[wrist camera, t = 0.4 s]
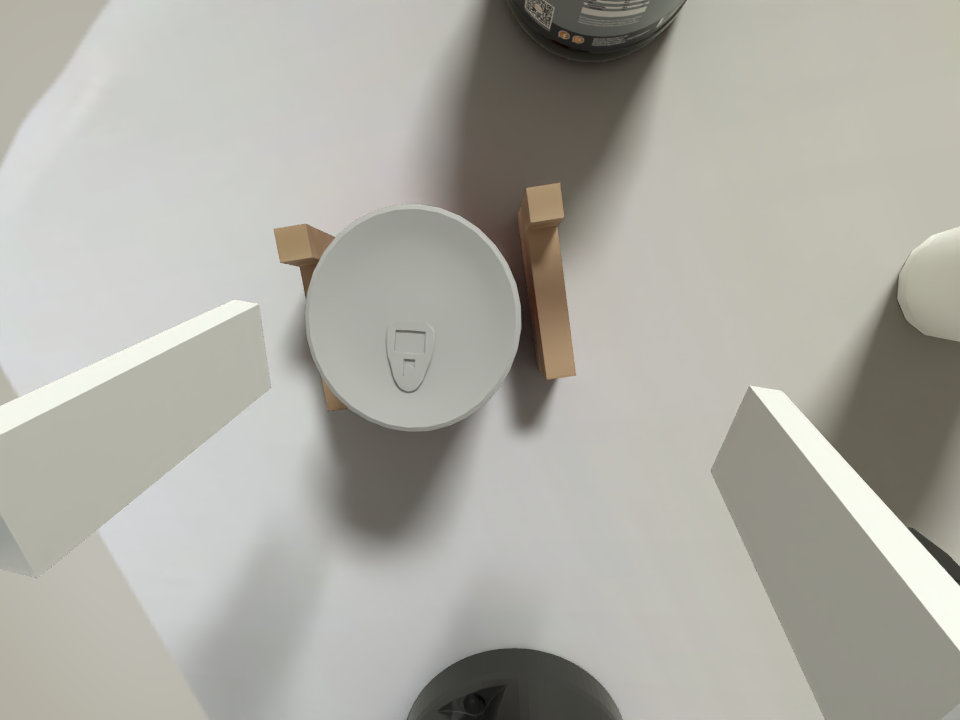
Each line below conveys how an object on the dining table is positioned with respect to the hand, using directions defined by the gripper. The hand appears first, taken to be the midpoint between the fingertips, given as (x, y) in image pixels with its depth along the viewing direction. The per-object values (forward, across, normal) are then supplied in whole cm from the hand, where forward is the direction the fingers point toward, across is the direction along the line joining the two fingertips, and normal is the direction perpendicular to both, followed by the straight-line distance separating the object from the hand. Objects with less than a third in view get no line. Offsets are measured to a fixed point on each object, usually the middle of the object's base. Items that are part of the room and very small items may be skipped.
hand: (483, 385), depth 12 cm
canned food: (+14, +4, +4) cm, 15 cm away
